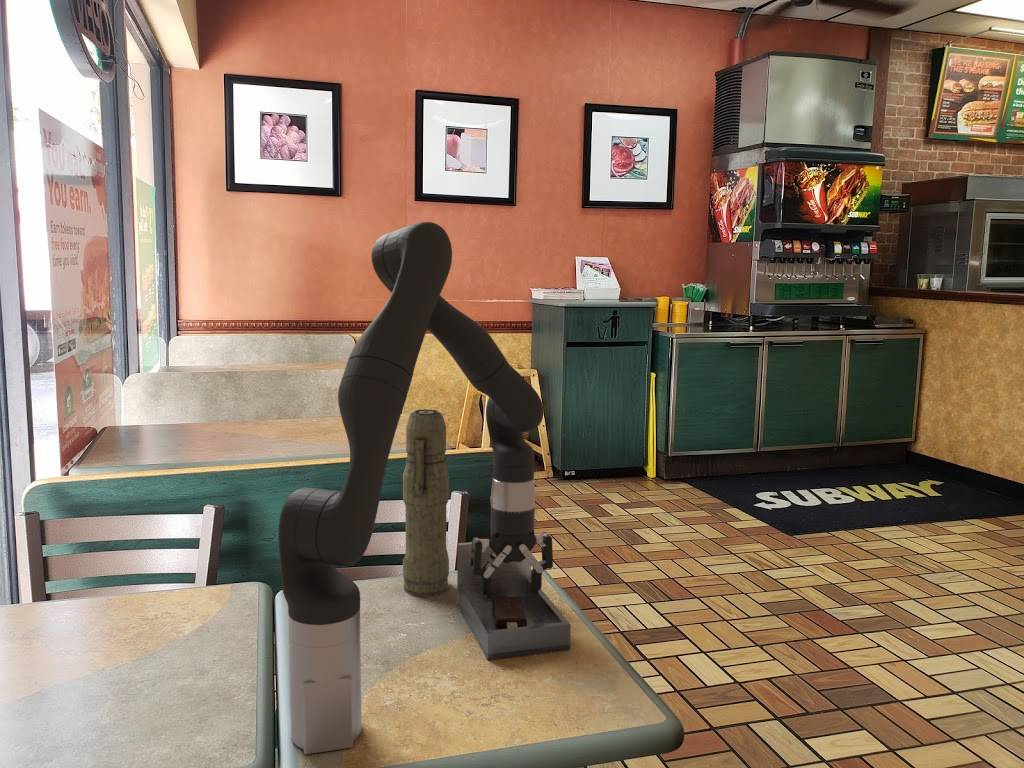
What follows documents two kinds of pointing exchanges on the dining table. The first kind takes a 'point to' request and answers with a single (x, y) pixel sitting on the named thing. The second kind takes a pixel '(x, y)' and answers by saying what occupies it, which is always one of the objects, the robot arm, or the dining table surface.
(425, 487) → the thermos
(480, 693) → the dining table surface
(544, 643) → the silver tray
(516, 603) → the ice cream bar
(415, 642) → the dining table surface
